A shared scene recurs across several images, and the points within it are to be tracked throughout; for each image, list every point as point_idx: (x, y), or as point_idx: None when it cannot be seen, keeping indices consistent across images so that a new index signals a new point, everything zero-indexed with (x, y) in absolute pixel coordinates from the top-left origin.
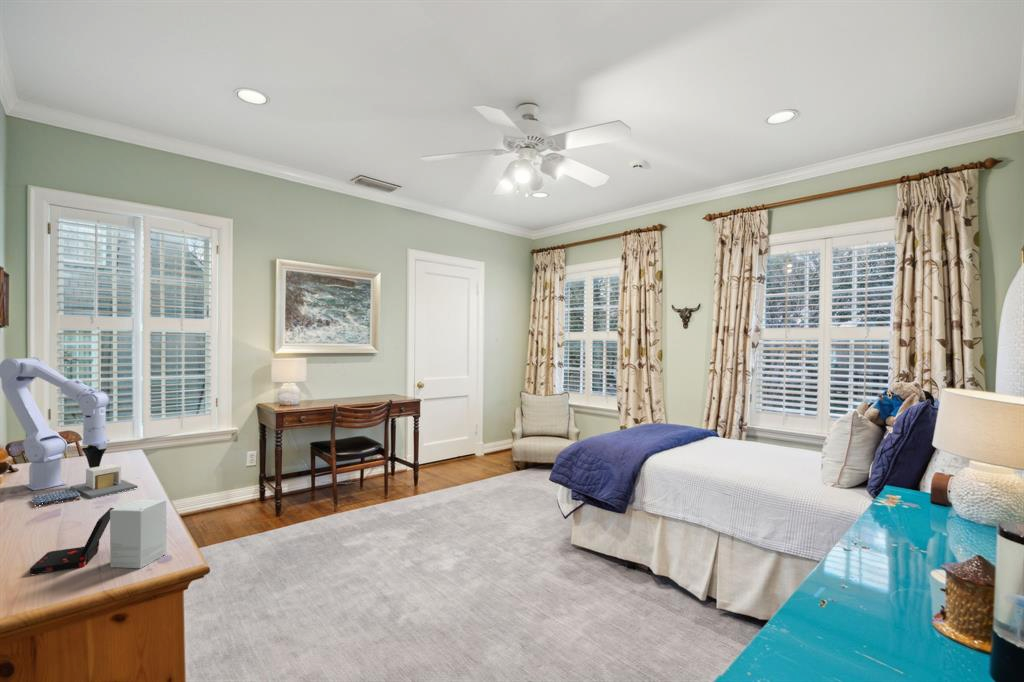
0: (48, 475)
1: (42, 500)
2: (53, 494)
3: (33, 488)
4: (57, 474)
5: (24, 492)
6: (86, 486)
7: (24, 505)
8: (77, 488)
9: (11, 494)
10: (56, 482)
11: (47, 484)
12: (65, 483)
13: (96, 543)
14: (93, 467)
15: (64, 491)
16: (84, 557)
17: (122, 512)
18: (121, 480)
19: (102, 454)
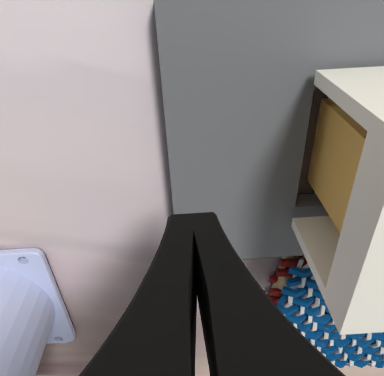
0: (34, 369)
1: (357, 351)
2: (316, 329)
3: (53, 342)
4: (9, 336)
5: (69, 350)
6: (278, 216)
7: None
8: (277, 251)
9: (68, 372)
10: (33, 294)
11: (50, 319)
12: (40, 255)
13: None
14: (355, 297)
15: (293, 297)
16: None
17: None
18: (348, 2)
19: (298, 338)
